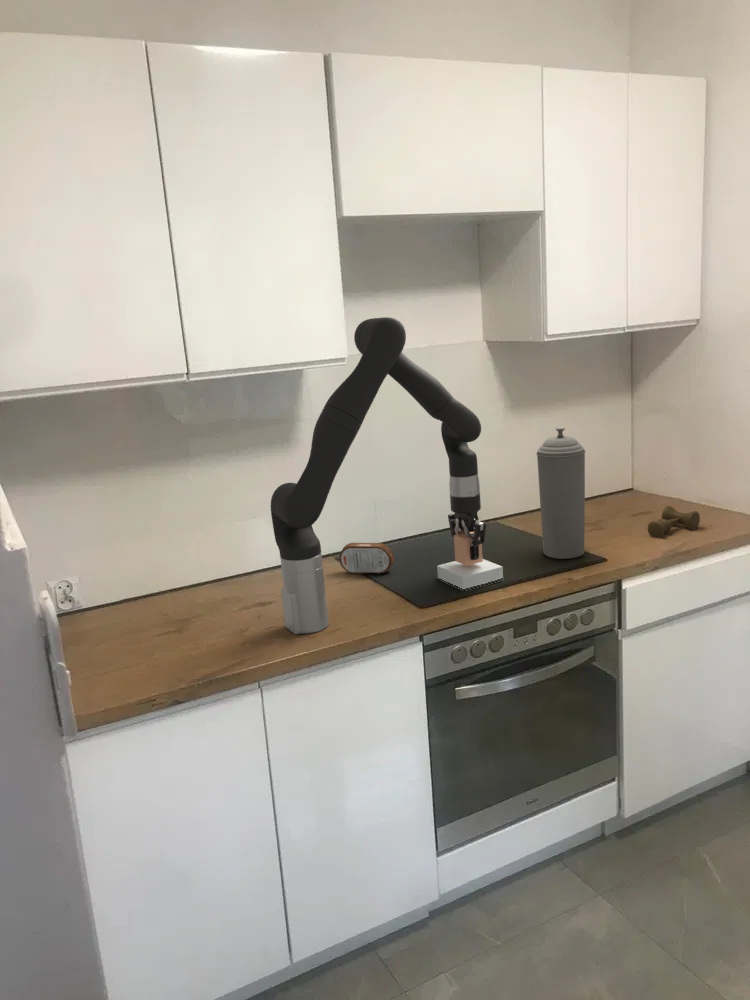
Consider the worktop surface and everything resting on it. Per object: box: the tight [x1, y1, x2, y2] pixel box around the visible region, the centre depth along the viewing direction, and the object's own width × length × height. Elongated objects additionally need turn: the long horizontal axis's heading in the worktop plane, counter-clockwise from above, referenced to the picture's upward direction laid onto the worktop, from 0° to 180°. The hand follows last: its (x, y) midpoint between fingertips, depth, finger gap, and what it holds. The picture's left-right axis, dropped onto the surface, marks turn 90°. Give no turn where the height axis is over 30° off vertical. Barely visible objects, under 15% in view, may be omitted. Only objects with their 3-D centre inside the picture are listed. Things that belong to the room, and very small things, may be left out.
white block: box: [436, 558, 504, 589], centre depth 201 cm, size 12×12×4 cm
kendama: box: [647, 505, 701, 539], centre depth 228 cm, size 6×10×20 cm
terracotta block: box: [453, 531, 484, 566], centre depth 200 cm, size 5×5×7 cm
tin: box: [338, 542, 395, 575], centre depth 213 cm, size 15×3×8 cm, turn 74°
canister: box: [535, 426, 586, 560], centre depth 211 cm, size 13×13×35 cm
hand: (468, 556), depth 200 cm, fingers closed on terracotta block, 5 cm apart
